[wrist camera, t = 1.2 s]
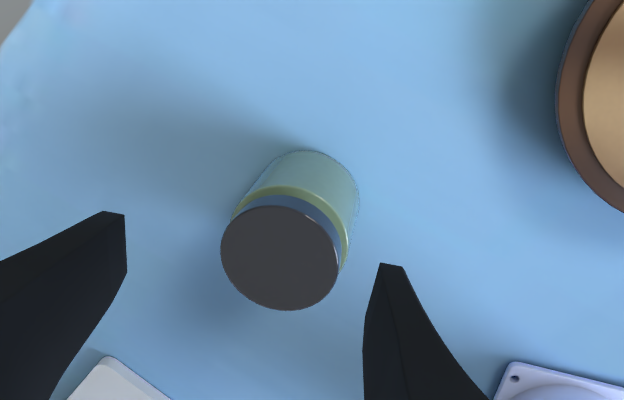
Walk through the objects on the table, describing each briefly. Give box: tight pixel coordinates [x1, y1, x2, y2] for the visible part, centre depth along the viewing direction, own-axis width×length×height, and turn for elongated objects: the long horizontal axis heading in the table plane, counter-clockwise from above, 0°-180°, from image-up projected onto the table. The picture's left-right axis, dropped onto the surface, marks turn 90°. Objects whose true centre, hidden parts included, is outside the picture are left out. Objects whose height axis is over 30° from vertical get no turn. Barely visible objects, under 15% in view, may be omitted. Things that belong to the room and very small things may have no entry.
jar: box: [220, 151, 359, 311], centre depth 24 cm, size 6×6×6 cm
